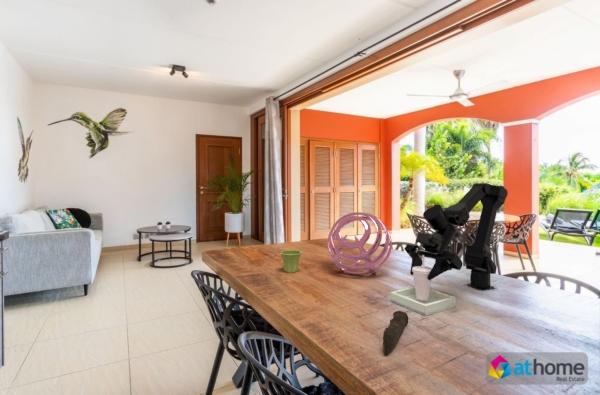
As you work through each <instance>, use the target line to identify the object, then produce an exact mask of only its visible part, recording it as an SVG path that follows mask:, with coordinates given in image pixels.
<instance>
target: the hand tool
mask: <svg viewBox="0 0 600 395" xmlns="http://www.w3.org/2000/svg"><path fill="white" fill-rule="evenodd" d="M408 324H409V316H408V314H407V313H406V311H405V312H404V311H403V310H402V311H401V310H396V311H394V312H393V313H392V318H391V319H389V325H388V327H386V328H385V329H384V331H383V337H382V339H383V340H382V347H383V353H384V354H383V355H384V356H388V355H389V354H390V353H392V351H393V350H394V349H395V348H396V344H397V341H398V339H399V338H400V336H401V334H402V332H403V330H404V328H405V326H408Z"/></svg>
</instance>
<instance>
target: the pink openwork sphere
mask: <svg viewBox="0 0 600 395" xmlns="http://www.w3.org/2000/svg"><path fill="white" fill-rule="evenodd" d="M356 221H358V222H360V223H361V224H362V225H363V227H364V232H363V235H362V237H360V238H359V239H358V238H357V236H356V235H354V240H355V241H354V242H350V241H347V240H346V239H347V238H348V234H346V235H344V237H342V236H341V230H342V228H344V227H346V225H348V224H350V223H353V222H356ZM368 221H369V222H373V224H374V226H375V228H376V238H375V241H374V243H373V244H372V246H371V247H370V248H369V249H365V248H364V245H365V244H366V243H367V242H368V241H369V239H370V237H371V234H372V233H371V232H372V228H371V225H370V223H369V222H368ZM334 229H335V230H334ZM382 229H383V230H384V234H385V243H384V246H383V248H382V250H381V252H380V253H379V255H378V256H376V257H375V258H374V259H373V260H372V259H371V257H372V255H374V254H375V252H376V251H377V250H378V248H379V247H380V245H381V242H382V239H383V238H382V237H383V230H382ZM334 240H336V241H337V243H338V245H337V247H336V246H335V244H334ZM392 246H393V242H392V236H391V233H390V231H389V229H387V226H386V225H385V224H384V222H383V221H382V220H381V219H380V218H379V217H377V216H376V215H374V214H371V213H368V212H361V211H358V212H357V211H355V212H349V213H347V214H344V215H342V216H341V217H340V218H338V219H337V220H336V221H335V222H334V224H333V225H332V227H331V228H330V230H329V233H328V237H327V250H328V254H329V255H330V257H331V259H332V262H333V263H334V264H335V266H336V267H337V268H338V269H340V270H341V271H343V272H344V273H346V274H349V275H353V276H365V275H369V274H375V273H377V271H378V270H379V269H380V268H382V267H383V266H384V265H385V264H386V263H387V261H388V259H389V258H390V256H391V252H392V249H393V247H392ZM342 248H345V249H349V250H353V249H358V250H359V252H360V253H359V254H353V255H351V254H345V253H343V252H342ZM383 258H384V259H383ZM340 259H342V260H344V261H349V262H353V263H352V264H345V263H343V262H341V261H340ZM382 259H383V261H381V260H382ZM361 261H364V262H365V263H364V264H362V265H359V263H360V262H361ZM380 261H381V262H380ZM378 263H379V264H378ZM377 264H378V265H377ZM376 265H377V266H376ZM363 270H367V271H363ZM354 271H355V272H354ZM357 271H363V272H357Z"/></svg>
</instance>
